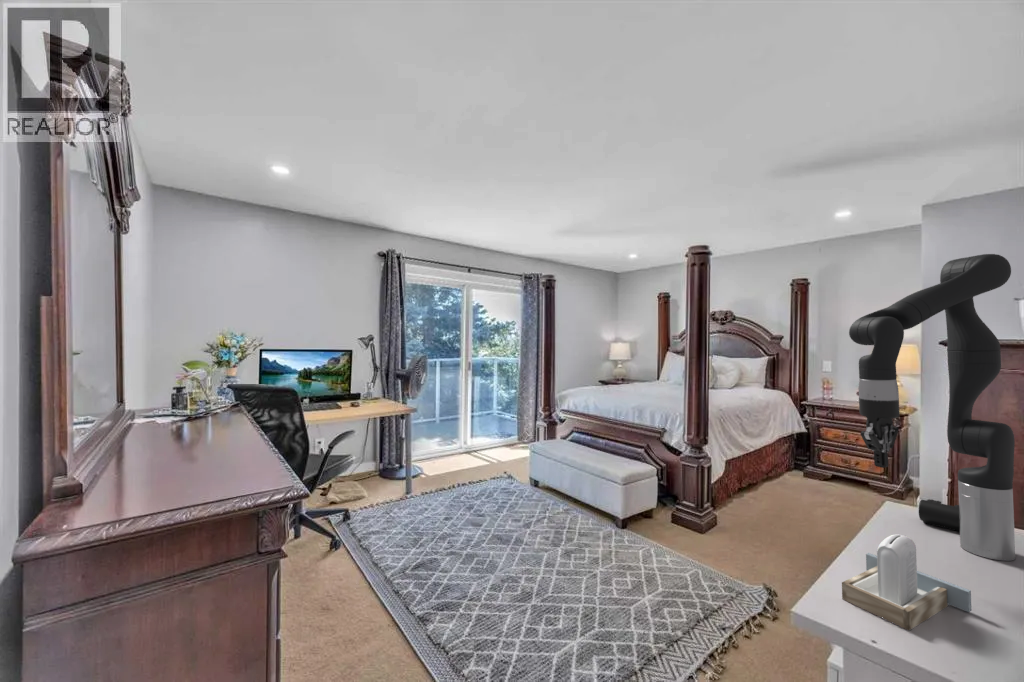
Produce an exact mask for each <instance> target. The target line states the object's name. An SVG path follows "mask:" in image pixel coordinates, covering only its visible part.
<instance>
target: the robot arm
mask: <svg viewBox="0 0 1024 682" xmlns="http://www.w3.org/2000/svg"><path fill="white" fill-rule="evenodd" d="M1011 275H1012V267H1011V264H1010V262H1009V260H1008V259H1007V258H1006V257H1004V256H1003V255H1001V254H995V253H984V254H978V255H973V256H968V257H967V256H966V257H961V258H956V259H952V260H949V261H947V262H946V263H945V264H944V265H943V266H942V268H941V271H940V275H939V278H940V280H939V281H940V282H939V283H937V284H935V285H931V286H929V287H926V288H923V289H920V290H918V291H916V292H913V293H911V294H909V295H907V296H905V297H903V298H901V299H899V300H898V301H896V302H894V303H891V305H889V306H887V307H885V308H881V309H879V310H876V311H873V312H871V313H868V314H865V315H863V316H861V317H859V318H857V319H855V321H853V323H852V324H851V325H850V327H849V331H848V336H849V338H850V339H851V340H852V342H854V343H855V344H858V345H861V346H873V348H872V351H871V353H870V354H866V355H862V356H860V358H859V359H858V377H859V378H858V379H859V381H858V389H857V390H858V406H859V407H858V409H859V415H861V416H862V417H865V418H866V423H865V426H866V429H865V431H864V430H862V431H860V437H861V439H862V440H863V443H864V444H865V445H866V447H867V449H868V450H870V451H872V452H873V461H874V462H873V463H874V467H876V468H881V469H884V468H888V467H889V452H890V450H891V449H893V448H894V445H895V442H896V439H897V436H898V433H899V427H898V426H894V424H893V423H894V422H893V419H896V418H897V419H898V418H899V417H900V413H901V411H900V397H899V396H900V395H899V394H900V391H899V385H898V380H897V377H898V376H897V360H898V357H899V355H900V351H901V349H902V348H901V347H902V345H903V341H904V337H905V335H904V334H905V331H906V330H910V329H913V328H914V327H916V326H918V325H920V324H921V323H923V322H925V321H927V320H928V319H930V318H932V317H933V316H935V315H937V314H939V313H941V312H943V311H944V313H945V322H946V323H945V324H946V337H947V339H946V340H947V345H946V347H947V348H946V349H947V352H946V353H947V354H946V355H947V356H946V357H947V368H948V369H947V371H948V382H949V384H948V387H949V395H948V397H949V401H948V413H947V428H946V429H947V430H946V431H947V432H946V436H947V442H948V443H947V444H948V445H949V447H950V449H951V450H952V451H953V452H954V453H958V454H961V455H966V456H967V455H968V456H973V457H979V458H985V459H987V461H986V464H985V465H982V466H975V467H974V466H971V467H963V468H960V469H959V470H958V471H957V484H958V486H957V487H958V489H957V490H958V505H959V519H960V531H959V543H960V547H961V548H962V549H963V550H965V551H967V552H968V553H970V554H974V555H976V556H980V557H981V558H986V559H991V560H996V561H1005V562H1006V561H1009V562H1010V561H1014V560H1016V544H1015V543H1016V541H1015V540H1016V537H1015V535H1016V534H1015V512H1014V509H1015V507H1014V489H1013V488H1014V487H1013V486H1014V485H1013V482H1014V474H1015V473H1014V472H1015V471H1014V466H1015V465H1014V461H1015V447H1016V445H1015V434H1014V431H1013V429H1012V428H1011V426H1009V425H1008V424H1006V423H1003V422H999V421H997V422H996V421H988V420H980V419H972V414H973V408H974V405H975V402H976V400H977V399H978V398H979V396H980V395H981V394H982V393H983V391H984V390H985V389H986V388H988V386H989V385H990V384H991V383H993V381H994V380H995V379H996V378H997V376H998V375H999V374H1000V371H1001V369H1002V355H1001V354H1002V353H1001V344H1000V341H999V340H998V338H997V336H996V334H994V332H993V331H992V330H991V329H990V328H989V326H988V325H987V324H986V323H985V322H984V321H983V320H982V318H981V317H980V315H978V312H977V311H976V307H975V302H974V297H977V296H979V295H982V294H985V293H987V292H991V291H993V290H996V289H999V288H1000V287H1003V286H1004V285H1005V284H1006V283H1007V282H1008V281H1009V279H1010V278H1011Z"/></svg>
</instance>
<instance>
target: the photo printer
mask: <svg viewBox="0 0 1024 682" xmlns="http://www.w3.org/2000/svg"><path fill="white" fill-rule="evenodd" d="M915 543H916V542H915V541H913V539H912V538H911V537H909V536H906V535H903V534H900V533H897V534H892V535H888V536H887V537H885V538H884V539H883V540H882V541H881V542H880V543H879V545H878V547H877V551H876V556H877V569H878V594H879V596H880V597H882V598H884V599H886V600H889V601H891V602H893V603H896V604H898V605H900V606H903V605H905V604H906V603H907V602H908V601H910V600H911V599H912V598H913V597H914V596H915V595H916V594H917V590H918V586H917V571H918V564H917V546H916V544H915Z"/></svg>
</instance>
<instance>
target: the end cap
mask: <svg viewBox="0 0 1024 682" xmlns="http://www.w3.org/2000/svg"><path fill="white" fill-rule="evenodd" d="M918 517H919V520H921V521H922V522H923V523H924V524H929V525H932V526H936V527H940V528H944V529H949V530H953V531H957V532H960V519H959V504H955V505H954V506H953V505H950V504H944V503H942V501H939V500H934V499H930V498H929V499H920V500H919V504H918Z"/></svg>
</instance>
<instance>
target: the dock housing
mask: <svg viewBox="0 0 1024 682" xmlns="http://www.w3.org/2000/svg"><path fill="white" fill-rule="evenodd" d="M877 572H878V569H877V566H876V567H874V568H872V569H870V570H865V571H863V572H861V573H859V574H857V575H854V576H853V577H850V578H849V579H846V580H844V581H841V595H842V596H841V597H842V598H841V599H842V600H843V601H846V602H848V603H850V604H852V605H854V606H856V607H858V608H860V609H863V611H867V612H868V613H871V614H873V615H875V616H877V617H879V616H880V617H879V618H881V617H883V618H884V620H885V619H886V620H885V621H888V622H890V623H892V622H893V624H894V623H895V624H894V625H896V626H898V625H899V626H898V627H901V628H902V629H904V630H907V631H911V630H912V629H915V628H916V627H917V626H918V625H921V624H923V622H925V621H926V620H928V619H930V618H932V617H933V616H935V615H936V614H938V613H939V612H941V611H943V610H944V609H946V608H947V607H948V604H947V589H945V588H942V587H941V588H939V589H938V590H936V591H934V592H932V593H931V594H929V595H927V596H926V597H924V598H922V599H920V600H919V601H917V602H915V603H913V604H912V605H910V606H908V607H907V608H903V607H901V606H898V605H896V604H894V603H892V602H889V601H887V600H885V599H883V598H880V597H878V596H876V595H873V594H871V593H869V592H867V591H864V590H862V589H860V588H858V587H855V586H853V585H852V584H854V583H856V582H858V581H860V580H863V579H865V578H867V577H869V576H871V575H873V574H875V573H877ZM883 618H882V619H883Z"/></svg>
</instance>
